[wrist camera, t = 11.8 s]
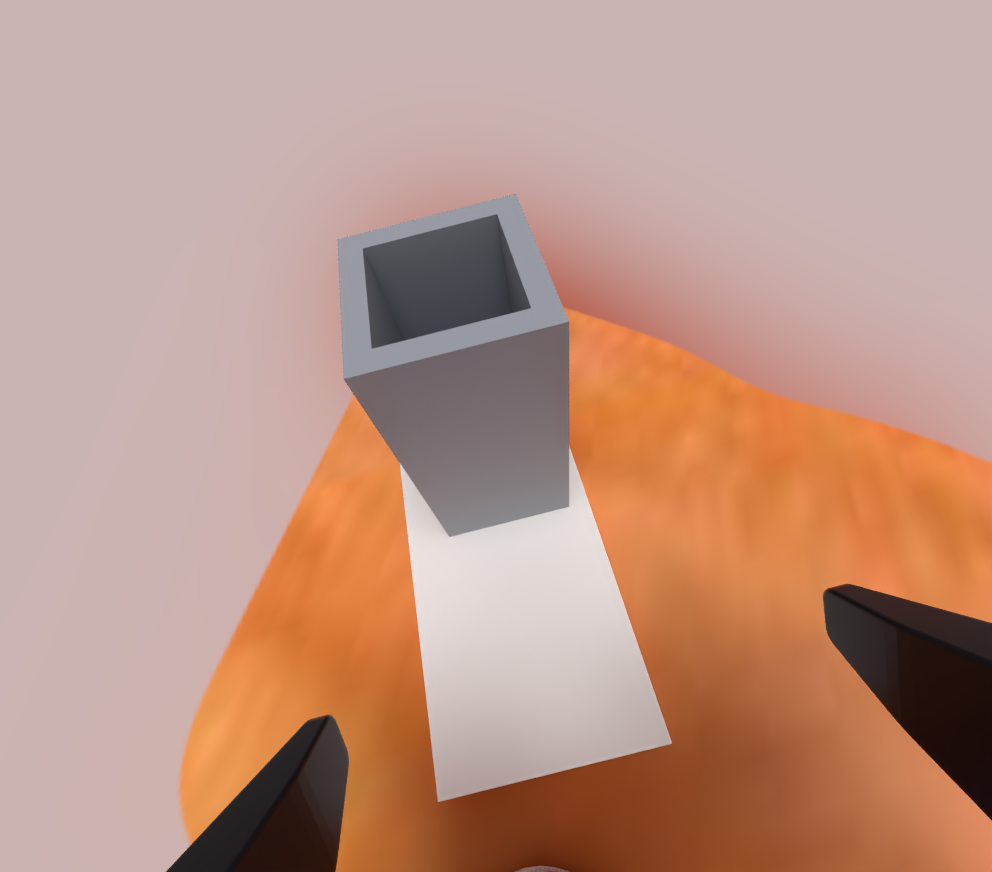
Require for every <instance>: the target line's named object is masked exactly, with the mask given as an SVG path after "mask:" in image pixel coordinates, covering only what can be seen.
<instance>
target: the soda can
mask: <svg viewBox="0 0 992 872" xmlns="http://www.w3.org/2000/svg"><path fill="white" fill-rule="evenodd" d="M514 872H570V871H567V870H563V869H560V868H557V867H549V866H534V867H526V868H523V869H520V870H517V871H514Z"/></svg>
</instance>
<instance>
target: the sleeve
mask: <svg viewBox="0 0 992 872" xmlns="http://www.w3.org/2000/svg"><path fill="white" fill-rule="evenodd" d="M338 261H339V284H340V306H341V329H342V351H343V352H342V353H343V373H344V380H345V382H346V383H347V385H348V386H349V388H350V389H351V391H352V392H353V394H354V395H355V397H356V398H357V400H358V401H359V403H360V404H361V406H362V407H363V409H364V410H365V412H366V413H367V415H368V416H369V418H370V419H371V421H372V422H373V424H374V425H375V427H376V428H377V430H378V431H379V433H380V434H381V436H382V437H383V438H384V440H385V441H386V443H387V444H388V446H389V447H390V449H391V450H392V452H393V453H394V455H395V456H396V458H397V459H398V461H399V462H400V464H401V465H402V467H403V468H404V470H405V471H406V473H407V474H408V476H409V477H410V479H411V480H412V482H413V483H414V485H415V486H416V488H417V489H418V491H419V492H420V494H421V495H422V497H423V498H424V500H425V501H426V503H427V504H428V506H429V507H430V509H431V510H432V512H433V513H434V515H435V516H436V518H437V519H438V521H439V522H440V524H441V525H442V527H443V528H444V530H445V531H446V533H447V534H448V536H449V537H452V536H456V535H460V534H464V533H467V532H471V531H475V530H479V529H483V528H487V527H491V526H495V525H499V524H503V523H507V522H511V521H515V520H519V519H523V518H527V517H531V516H535V515H539V514H543V513H547V512H551V511H555V510H558V509H562V508H566V507H569V320H568V318H567V315H566V313H565V311H564V308H563V306H562V303H561V301H560V299H559V297H558V294H557V292H556V289H555V287H554V284H553V282H552V279H551V277H550V275H549V272H548V270H547V268H546V265H545V263H544V261H543V258H542V256H541V253H540V251H539V248H538V246H537V244H536V241H535V239H534V237H533V234H532V232H531V229H530V227H529V224H528V222H527V220H526V217H525V215H524V213H523V210H522V208H521V205H520V203H519V200H518V198H517V196H516V194H513V195H510V196H506V197H502V198H498V199H494V200H490V201H486V202H482V203H478V204H475V205H471V206H467V207H463V208H459V209H455V210H451V211H447V212H443V213H439V214H435V215H432V216H428V217H424V218H420V219H416V220H412V221H408V222H404V223H400V224H397V225H392V226H389V227H385V228H381V229H377V230H373V231H369V232H365V233H361V234H357V235H353V236H350V237H346V238H342V239H338Z"/></svg>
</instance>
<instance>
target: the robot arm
mask: <svg viewBox="0 0 992 872" xmlns="http://www.w3.org/2000/svg"><path fill="white" fill-rule="evenodd" d="M823 602H824V613H825V623H826V630H827V633H828V636H829V638H830V640H831V641H832V643H833V644H834V645H835V647H836V648H837V649H838V650H839V651H840V653H841V654H842V655H843V656H844V658H845V659H846V660H847V661H848V662H849V664H850V665H851V666H852V667H853V669H854V670H855V671H856V672H857V673H858V675H859V676H860V677H861V678H862V680H863V681H864V682H865V683H866V684H867V686H868V687H869V688H870V689H871V691H872V692H873V693H874V694H875V695H876V697H877V698H878V699H879V700H880V702H881V703H882V704H883V705H884V706H885V708H886V709H887V710H888V711H889V712H890V714H891V715H892V716H893V717H894V718H895V719H896V721H897V722H898V723H899V724H900V725H901V726H902V727H903V729H904V730H905V731H906V732H907V733H908V734H909V735H910V736H911V737H912V738H913V739H914V740H915V741H916V742H917V743H918V744H919V746H920V747H921V748H922V749H923V750H924V751H925V752H926V753H927V754H928V755H929V756H930V757H931V758H932V759H933V760H934V761H935V762H936V763H937V764H938V765H939V766H940V767H941V768H942V769H943V770H944V771H945V772H946V773H947V774H948V776H949V777H950V778H951V779H952V780H953V781H954V782H955V783H956V784H957V785H958V786H959V787H960V788H961V789H962V790H963V791H964V792H965V793H966V794H967V795H968V796H969V797H970V798H971V799H972V800H973V801H974V802H975V803H976V804H977V806H978V807H979V808H980V809H981V810H982V811H983V812H984V813H985V814H986V815H987V816H988V817H989V818H990V819H991V820H992V623H989V622H986V621H982V620H978V619H975V618H971V617H968V616H964V615H960V614H957V613H953V612H949V611H946V610H942V609H939V608H935V607H931V606H928V605H924V604H921V603H917V602H913V601H910V600H906V599H902V598H899V597H895V596H892V595H888V594H884V593H881V592H877V591H873V590H870V589H866V588H863V587H859V586H855V585H852V584H844V585H840V586H836V587H832V588H828V589H826V590H825V591H824V594H823ZM348 766H349V757H348V751H347V748H346V745H345V743H344V740H343V738H342V735H341V733H340V730H339V728H338V725H337V723H336V720H335V719H334V717H333V716H331V715H325V716H321V717H317V718H313V719H310V720H308V721H307V722H306V723H305V724H304V725H303V726H302V727H301V728H300V729H299V730H298V731H297V732H296V733H295V734H294V735H293V737H292V738H291V739H290V740H289V741H288V742H287V743H286V744H285V745H284V746H283V747H282V748H281V749H280V750H279V752H278V753H277V754H276V755H275V756H274V757H273V758H272V759H271V760H270V761H269V762H268V763H267V764H266V765H265V766H264V768H263V769H262V770H261V771H260V772H259V773H258V774H257V775H256V776H255V777H254V778H253V779H252V780H251V781H250V783H249V784H248V785H247V786H246V787H245V788H244V789H243V790H242V791H241V792H240V793H239V794H238V795H237V796H236V797H235V799H234V800H233V801H232V802H231V803H230V804H229V805H228V806H227V807H226V808H225V809H224V810H223V811H222V812H221V814H220V815H219V816H218V817H217V818H216V819H215V820H214V821H213V822H212V823H211V824H210V825H209V826H208V827H207V828H206V830H205V831H204V832H203V833H202V834H201V835H200V836H199V837H198V838H197V839H196V840H195V841H194V842H193V843H192V845H191V846H190V847H189V848H188V849H187V850H186V851H185V852H184V853H183V854H182V855H181V856H180V858H178V860H177V861H176V862H175V863H174V864H173V865H172V866H171V867H170V868H169V869H168V870H167V871H166V872H335V870H336V864H337V857H338V850H339V842H340V833H341V825H342V817H343V808H344V800H345V792H346V783H347V775H348Z"/></svg>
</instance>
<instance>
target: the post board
mask: <svg viewBox="0 0 992 872" xmlns="http://www.w3.org/2000/svg"><path fill="white" fill-rule="evenodd" d="M400 470H401V479H402V487H403V496H404V505H405V514H406V523H407V532H408V541H409V549H410V558H411V567H412V576H413V585H414V594H415V603H416V612H417V620H418V629H419V638H420V647H421V656H422V665H423V674H424V683H425V691H426V700H427V709H428V718H429V727H430V736H431V745H432V754H433V762H434V771H435V780H436V789H437V798H438V802H440V801H444V800H448V799H452V798H456V797H460V796H464V795H468V794H472V793H476V792H480V791H484V790H488V789H492V788H496V787H500V786H504V785H508V784H512V783H516V782H520V781H524V780H528V779H533V778H537V777H541V776H545V775H549V774H553V773H557V772H561V771H565V770H569V769H573V768H577V767H581V766H585V765H589V764H593V763H597V762H601V761H605V760H609V759H613V758H617V757H621V756H625V755H629V754H633V753H637V752H641V751H645V750H649V749H653V748H657V747H661V746H665V745H669V744H672V741H671V739H670V736H669V733H668V730H667V727H666V724H665V721H664V718H663V715H662V713H661V710H660V707H659V704H658V701H657V698H656V695H655V692H654V689H653V687H652V684H651V681H650V678H649V675H648V672H647V669H646V666H645V663H644V661H643V658H642V655H641V652H640V649H639V646H638V643H637V640H636V637H635V635H634V632H633V629H632V626H631V623H630V620H629V617H628V614H627V611H626V609H625V606H624V603H623V600H622V597H621V594H620V591H619V588H618V585H617V583H616V580H615V577H614V574H613V571H612V568H611V565H610V562H609V559H608V557H607V554H606V551H605V548H604V545H603V542H602V539H601V536H600V533H599V531H598V528H597V525H596V522H595V519H594V516H593V513H592V510H591V507H590V505H589V502H588V499H587V496H586V493H585V490H584V487H583V484H582V481H581V479H580V476H579V473H578V470H577V467H576V464H575V461H574V458H573V455H572V453H571V450H570V447H569V507H566V508H562V509H558V510H555V511H551V512H547V513H543V514H539V515H535V516H531V517H527V518H523V519H519V520H515V521H511V522H507V523H503V524H499V525H495V526H491V527H487V528H483V529H479V530H475V531H471V532H467V533H464V534H460V535H456V536H452V537H449V536H448V534H447V533H446V531H445V530H444V528H443V527H442V525H441V524H440V522H439V521H438V519H437V518H436V516H435V515H434V513H433V512H432V510H431V509H430V507H429V506H428V504H427V503H426V501H425V500H424V498H423V497H422V495H421V494H420V492H419V491H418V489H417V488H416V486H415V485H414V483H413V482H412V480H411V479H410V477H409V476H408V474H407V473H406V471H405V470H404V468H403V467H402V465H401V464H400Z"/></svg>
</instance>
